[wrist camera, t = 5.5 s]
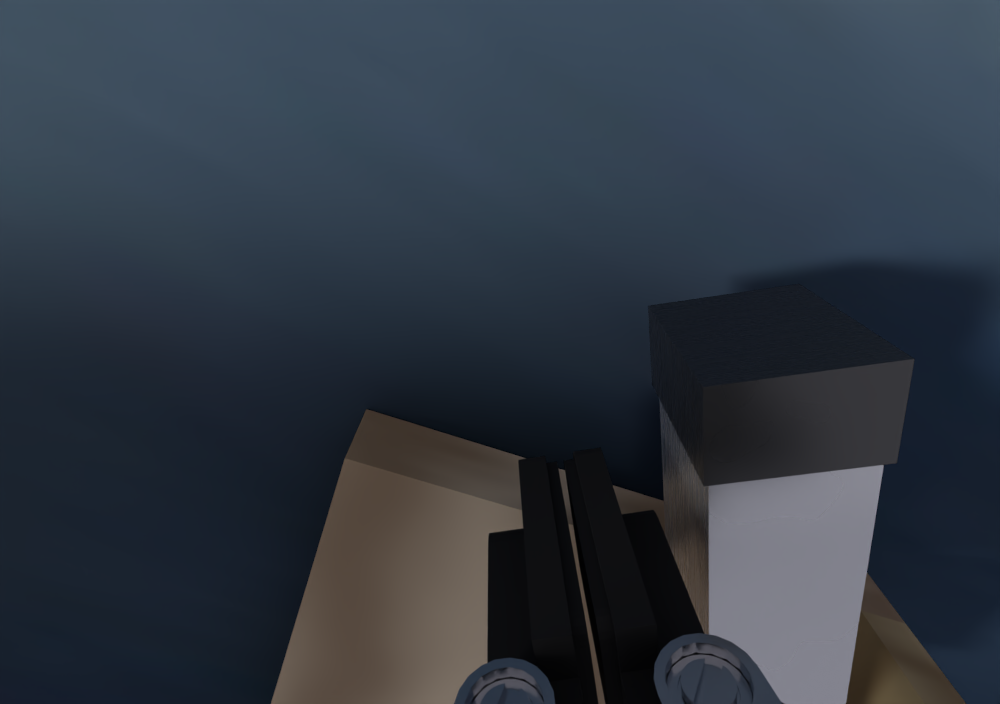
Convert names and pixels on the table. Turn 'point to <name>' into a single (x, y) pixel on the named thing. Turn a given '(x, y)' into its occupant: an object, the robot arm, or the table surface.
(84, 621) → the table surface
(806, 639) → the folding leg
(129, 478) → the table surface
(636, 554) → the robot arm
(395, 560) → the stool seat
